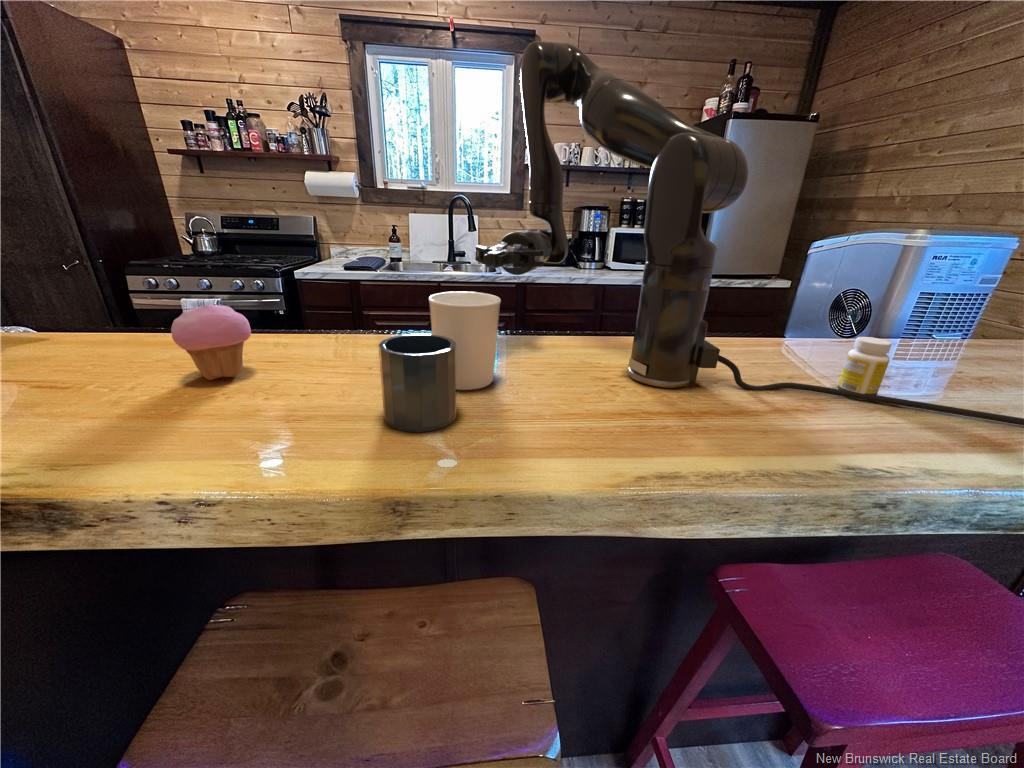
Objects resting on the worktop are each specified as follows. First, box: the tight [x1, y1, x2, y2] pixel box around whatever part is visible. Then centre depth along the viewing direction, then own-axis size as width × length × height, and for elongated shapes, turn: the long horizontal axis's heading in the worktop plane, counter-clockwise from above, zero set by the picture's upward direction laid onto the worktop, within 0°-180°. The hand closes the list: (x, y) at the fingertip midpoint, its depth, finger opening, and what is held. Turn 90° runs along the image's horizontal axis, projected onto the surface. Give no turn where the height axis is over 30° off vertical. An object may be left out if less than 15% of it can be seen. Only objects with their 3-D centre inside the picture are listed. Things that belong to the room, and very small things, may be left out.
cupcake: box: [170, 304, 252, 381], centre depth 59 cm, size 9×9×10 cm
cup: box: [378, 333, 458, 433], centre depth 51 cm, size 8×8×9 cm
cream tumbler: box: [427, 291, 502, 391], centre depth 62 cm, size 10×10×12 cm
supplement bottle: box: [836, 336, 893, 401], centre depth 63 cm, size 5×5×8 cm
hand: (491, 260), depth 67 cm, fingers closed
